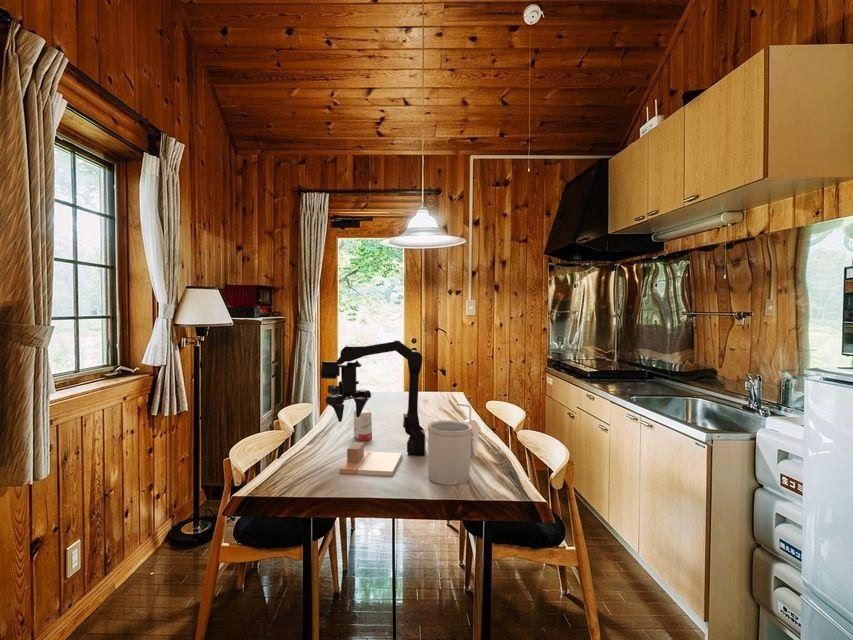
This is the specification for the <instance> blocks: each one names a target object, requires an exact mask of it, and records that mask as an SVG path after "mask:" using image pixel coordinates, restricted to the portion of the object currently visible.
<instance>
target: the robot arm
mask: <svg viewBox="0 0 853 640" xmlns="http://www.w3.org/2000/svg"><path fill="white" fill-rule="evenodd" d="M390 352H397V353H398V354H399V355H400V356H402V357H403V358H404V359H406V360H407V367H408V376H409V377H408V399H407V400H408V402H407V405H408V406H407V410H406V413H402V415H403V416H402V417H403V422H402V428H404V431H405V434H407V435H409V437H408V440H407V442H406V452H407V456H412V457H413V456H415V457H425V455H426V453H427V450H426V442H427V441H426V434H425V430H424V428H423V427H422V426H421V425H420V419H419V413H418V412H419V411H418V410H419V409H418V408H419V403H418V402H419V382H420V372H421V369H422V364H423V355H422V354H421V352H419V350H417V349H416V350H414V349H413V350H412V349H411V348H410V347H408V346H407V345H405V344H404V343H402V341H400V340H399V339H395V340H392V341H386V342H381V343H380V342H379V343H373V344H369V345H355V344H354V345H346V346H344V347H342V349H341V351H340V353H339V355H340V357H339V358H337V359H336V361H330V360H329V361H327V360H322V361H321V367H320V368H321V369H320V377H321V380H337V379H338V377H341V378H340V381H338V385H334V384H330V385H327V394H329V395H327V396H326V397H325V404H326V405H328V406H329V407H330V406H331V407H332V409H333V410H334V413H335V415H336V418H337V421H338V422H339V423H341V422H343V421H342V420H343V416H344V410H345V404H344V402H345V401H348V400H354V403H355V410H356V416H357V417H359V416H360V414H361V412H362V410H363V409H364V408H365V406H366V404H367V403H368V401H369V400H370V399H371V398H372V393H371V391H370V390H368V389H357V385H359V383H360V382H359V380H357V368H361V367H362V364H361V363H360V362H359V361H358V360H359V359H362V358H363V357H367V356H373V355H378V354H382V353H383V354H384V353H390ZM355 360H356V361H355ZM352 361H354V362H352ZM346 362H347V363H346ZM344 363H346V364H344Z"/></svg>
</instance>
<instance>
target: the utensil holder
mask: <svg viewBox="0 0 853 640" xmlns="http://www.w3.org/2000/svg"><path fill="white" fill-rule="evenodd" d="M427 431H428V434H427V435H428V437H427V439H428V441H427V443H428V444H427V474H428V479H429V480H430V481H431V482H433V483H436V484H439V485H444V486H445V485H446V486H455V485H456V486H457V485H461V484H465V483H467V482H468V481H469V479H470V473H471V472H470V470H471V457H470V455H471V432H472V426H471V425H470V424H468V423H465V422H463V421H460V420H446V419H445V420H443V419H442V420H435V421H431V422H429V423H428V424H427Z"/></svg>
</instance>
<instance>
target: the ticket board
mask: <svg viewBox="0 0 853 640" xmlns="http://www.w3.org/2000/svg"><path fill="white" fill-rule="evenodd" d="M402 458H403V453H402V452H382V451H370V454H369V455H368V456H367V458H366V459H365V460H364V462H363V463H362V464H361V466H360V467H359V468H358V471H357V474H356V475H363V476H364V475H367V476H368V475H369V476H385V477H386V476H388V477H389V476H391V477H393V476H394V474H395V472H396V470H397V468H398V466H399V464H400V463H401V460H402Z"/></svg>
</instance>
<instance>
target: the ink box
mask: <svg viewBox="0 0 853 640" xmlns="http://www.w3.org/2000/svg"><path fill="white" fill-rule="evenodd" d="M372 419H373V418H372V412H371V411H370V410H366V409H364V408H363V410H362V412H361V414H360V416H359V417H357V416H356V409H353V437H354V438H356V439H358V440H360V441H368V440H372V439H373V431H372V430H373V427H372V425H373V424H372Z"/></svg>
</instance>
